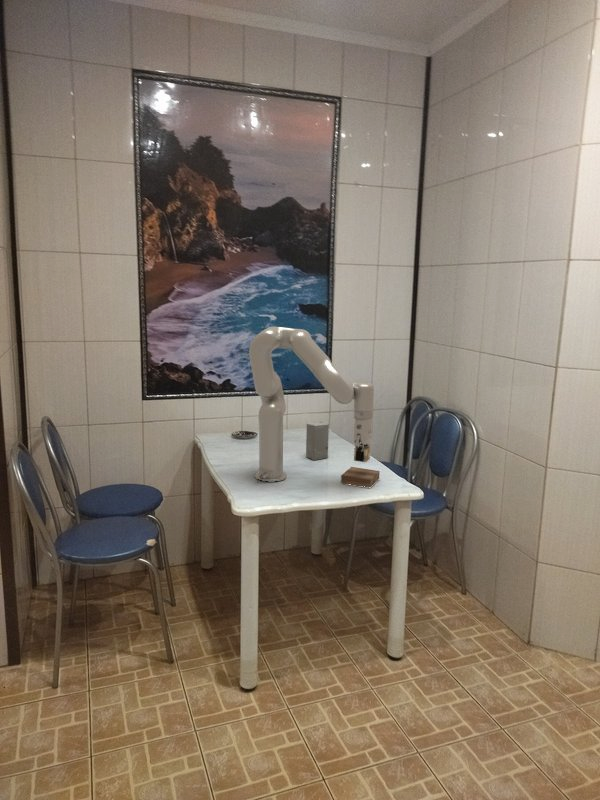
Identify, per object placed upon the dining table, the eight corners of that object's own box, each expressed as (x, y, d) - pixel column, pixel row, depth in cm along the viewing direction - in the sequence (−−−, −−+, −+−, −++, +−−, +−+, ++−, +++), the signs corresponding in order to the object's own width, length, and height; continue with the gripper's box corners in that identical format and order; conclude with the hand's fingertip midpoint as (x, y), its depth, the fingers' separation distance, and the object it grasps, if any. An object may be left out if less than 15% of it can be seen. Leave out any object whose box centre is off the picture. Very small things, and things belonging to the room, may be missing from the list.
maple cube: (366, 462, 231) (366, 450, 230) (353, 460, 233) (354, 448, 232) (369, 458, 236) (370, 446, 235) (358, 457, 238) (358, 445, 237)
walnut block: (370, 489, 228) (370, 479, 228) (340, 484, 233) (341, 475, 232) (379, 480, 239) (379, 471, 238) (351, 475, 244) (351, 466, 243)
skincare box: (313, 460, 262) (314, 426, 259) (304, 456, 268) (305, 422, 264) (329, 458, 266) (330, 424, 263) (319, 454, 272) (320, 420, 269)
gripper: (365, 419, 221) (364, 466, 225) (378, 411, 237) (377, 454, 240) (346, 417, 224) (345, 463, 228) (361, 409, 240) (359, 452, 243)
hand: (361, 458), depth 234 cm, fingers closed on maple cube, 5 cm apart
